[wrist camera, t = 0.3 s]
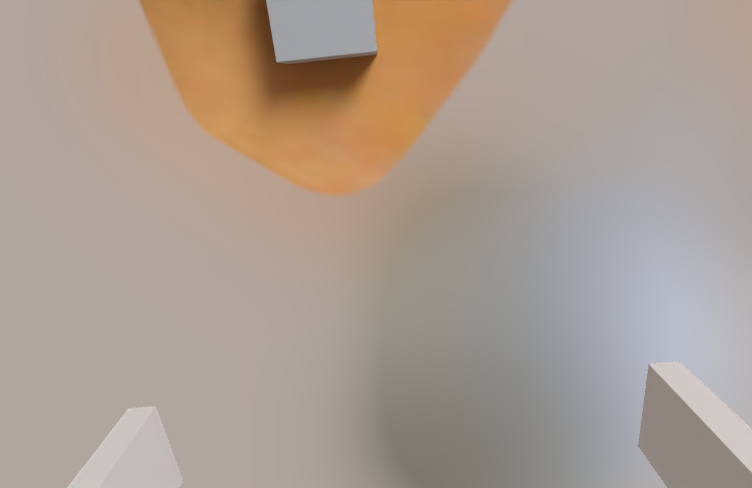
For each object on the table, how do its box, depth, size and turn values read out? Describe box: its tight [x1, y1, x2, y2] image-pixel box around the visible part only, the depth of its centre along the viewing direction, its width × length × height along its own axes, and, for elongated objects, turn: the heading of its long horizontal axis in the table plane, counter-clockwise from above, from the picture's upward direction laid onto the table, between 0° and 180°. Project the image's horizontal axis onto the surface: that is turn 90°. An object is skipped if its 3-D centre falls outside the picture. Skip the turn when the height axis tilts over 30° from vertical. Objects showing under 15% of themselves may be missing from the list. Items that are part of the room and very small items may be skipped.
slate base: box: [266, 0, 377, 64], centre depth 30 cm, size 7×7×4 cm
